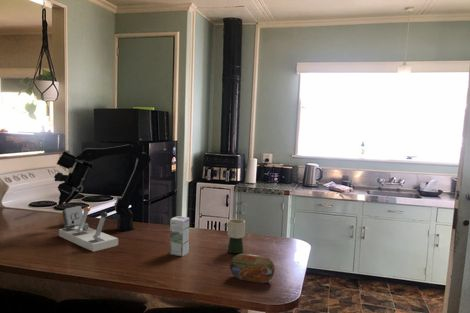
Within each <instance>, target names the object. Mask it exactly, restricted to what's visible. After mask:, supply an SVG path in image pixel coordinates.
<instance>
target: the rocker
mask: <svg viewBox="0 0 470 313" xmlns="http://www.w3.org/2000/svg"><path fill="white" fill-rule="evenodd" d="M74 227H75V225H74V224H68V225H65V224H64V225H63V229H64V228H67V229H69V228H74Z"/></svg>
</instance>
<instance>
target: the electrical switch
mask: <svg viewBox="0 0 470 313" xmlns="http://www.w3.org/2000/svg"><path fill="white" fill-rule="evenodd" d="M82 208H83V207H82V205H78V206H72V207H67V208H64V210H62V212H61V213H62V217H63V223H64V225H68V224H74V225H75V226H79V224H80V222H81V219H82V216H83V213H84V212H83V209H82Z"/></svg>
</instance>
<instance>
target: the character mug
mask: <svg viewBox="0 0 470 313" xmlns="http://www.w3.org/2000/svg"><path fill="white" fill-rule="evenodd" d="M227 236H228V237H229V241H228V249H227V252H228V253H233V254H241V253H243V252H244V244H243V239H242V238H245V236H246V221H245V220H244V219H240V218H239V219H238V218H231V219H227Z"/></svg>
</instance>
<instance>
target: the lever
mask: <svg viewBox="0 0 470 313" xmlns="http://www.w3.org/2000/svg"><path fill="white" fill-rule="evenodd" d="M107 217H108V212H106V211H101V213H100V218H99V220H98V221H99V222H98V225H97V227H96V229H95V230H96V233H95V235H94V236H93V239H96V240H100V237H99V236H100V233H101V232H102V230H103V227H104V224H105V220H106V218H107Z"/></svg>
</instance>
